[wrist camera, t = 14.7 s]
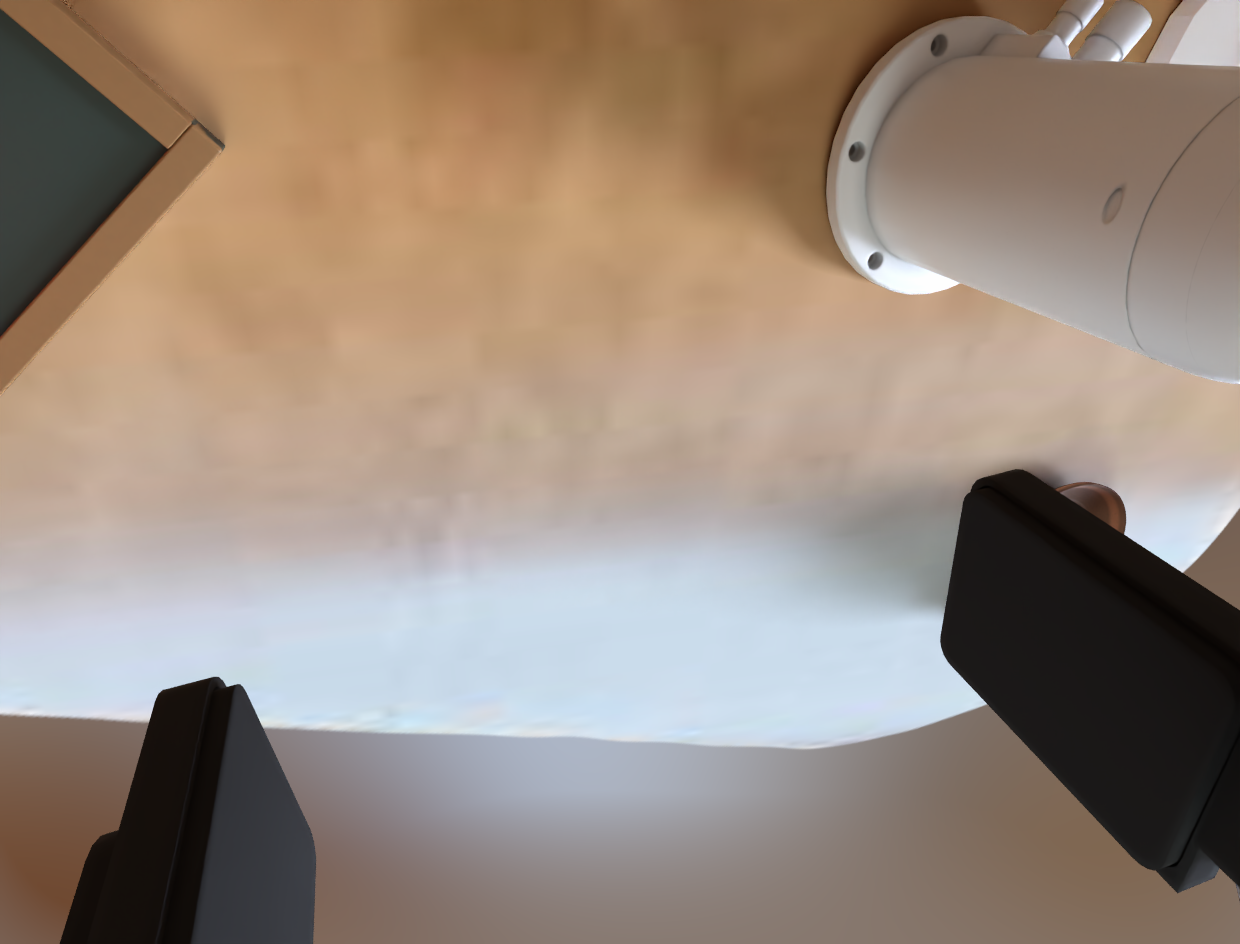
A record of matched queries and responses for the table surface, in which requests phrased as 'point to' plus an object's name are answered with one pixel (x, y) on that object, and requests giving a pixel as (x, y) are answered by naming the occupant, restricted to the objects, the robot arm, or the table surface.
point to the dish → (1200, 34)
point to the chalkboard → (77, 169)
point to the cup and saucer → (1098, 502)
